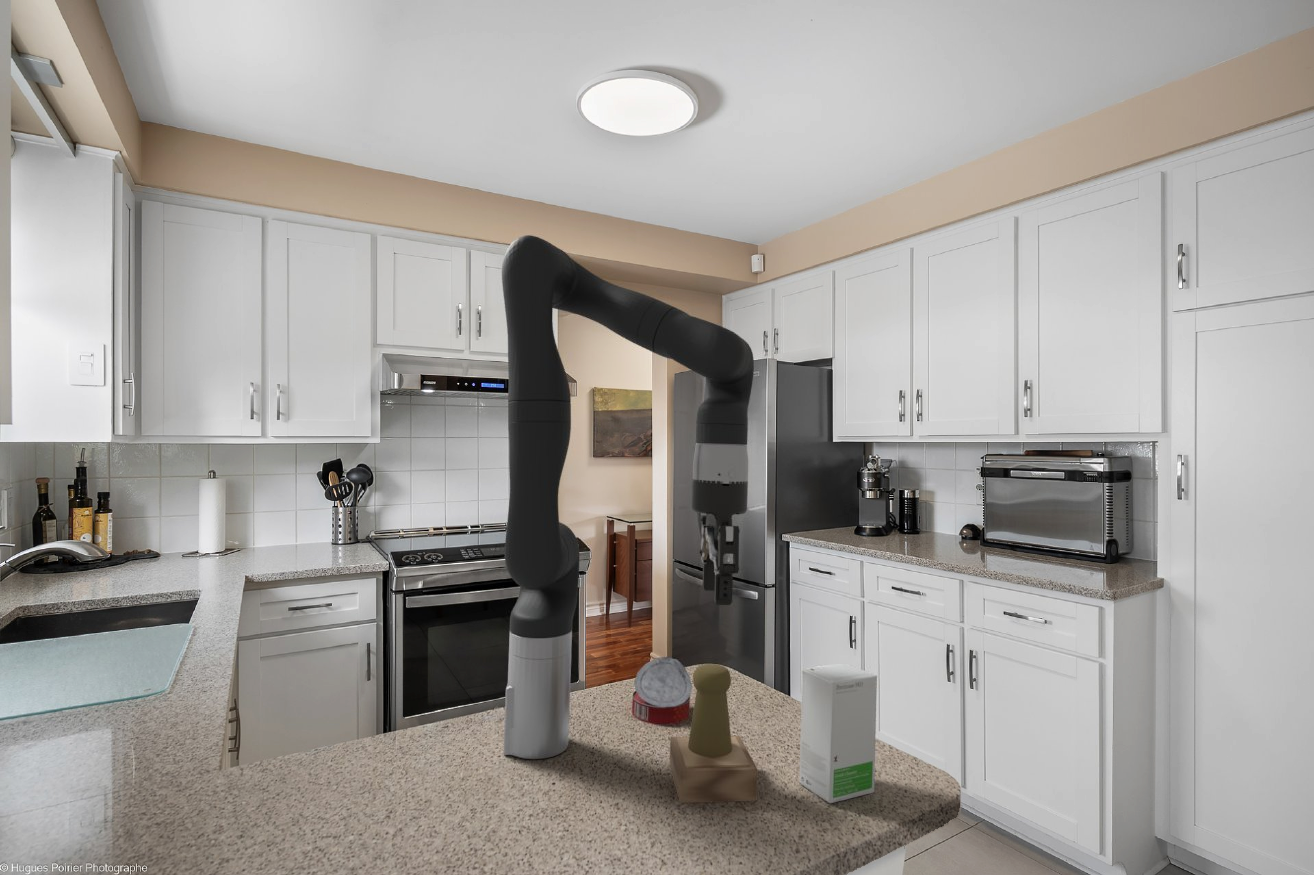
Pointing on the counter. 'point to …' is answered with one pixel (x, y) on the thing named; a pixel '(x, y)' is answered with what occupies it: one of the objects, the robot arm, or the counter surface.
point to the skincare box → (838, 731)
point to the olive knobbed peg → (710, 712)
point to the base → (713, 773)
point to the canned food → (662, 692)
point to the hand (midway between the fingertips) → (716, 597)
